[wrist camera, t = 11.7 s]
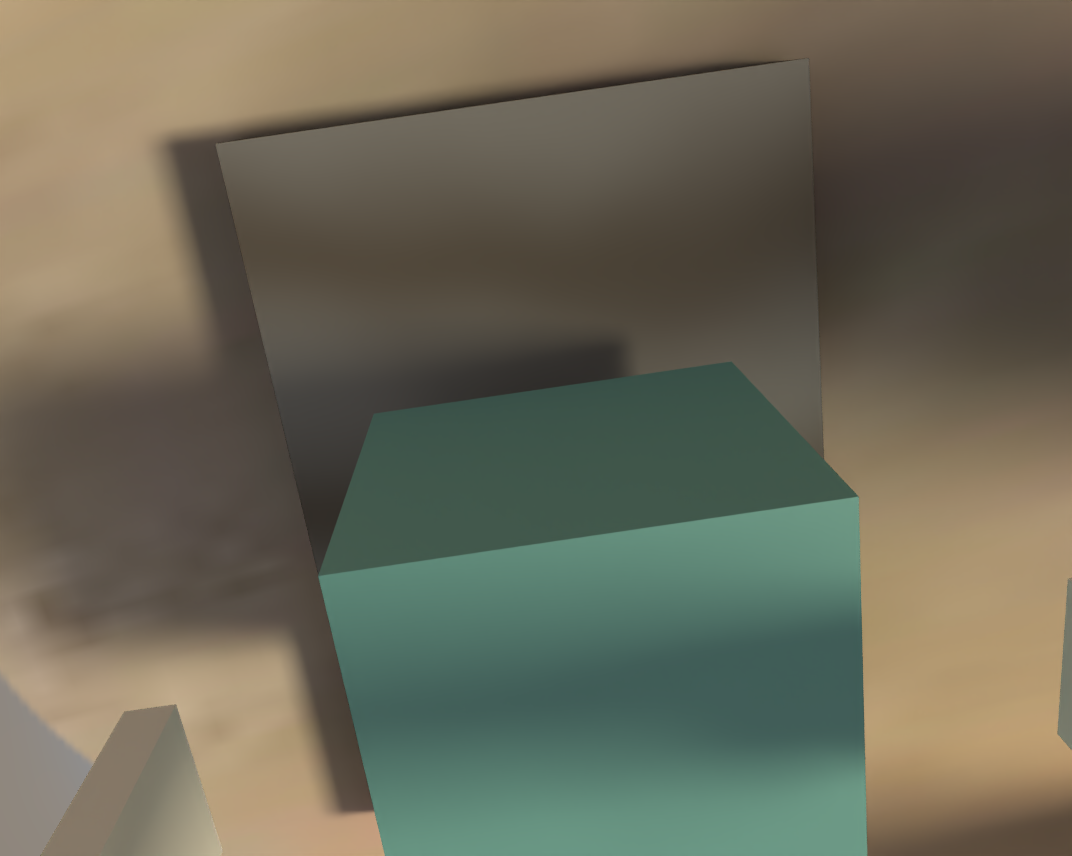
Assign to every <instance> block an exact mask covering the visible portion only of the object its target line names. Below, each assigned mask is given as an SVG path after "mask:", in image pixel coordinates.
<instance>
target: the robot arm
mask: <svg viewBox="0 0 1072 856" xmlns="http://www.w3.org/2000/svg"><path fill="white" fill-rule="evenodd" d="M1058 735H1059V736H1060V737H1061V738H1062V740H1063V741H1064V742H1065V743H1066V744H1067V745H1068V747H1069V748H1070V749H1071V750H1072V578H1069V579H1068V586H1067V600H1066V615H1065V630H1064V645H1063V660H1062V674H1061V689H1060V704H1059V719H1058ZM222 851H223V850H222V847H221V844H220V840H219V837H218V834H217V831H216V828H215V825H214V822H213V819H212V815H211V812H210V809H209V806H208V803H207V800H206V797H205V794H204V790H203V787H202V784H201V781H200V778H199V775H198V772H197V769H196V765H195V762H194V759H193V756H192V753H191V750H190V747H189V744H188V740H187V737H186V734H185V731H184V728H183V725H182V722H181V719H180V715H179V712H178V709H177V706H176V704H175V705H168V706H161V707H154V708H147V709H140V710H133V711H125V712H124V713H123V715H122V716H121V718H120V720H119V721H118V723H117V725H116V727H115V728H114V730H113V732H112V734H111V735H110V737H109V739H108V740H107V742H106V744H105V746H104V747H103V749H102V751H101V752H100V754H99V756H98V758H97V759H96V761H95V763H94V764H93V766H92V768H91V770H90V771H89V773H88V775H87V776H86V778H85V780H84V782H83V783H82V785H81V787H80V788H79V790H78V792H77V794H76V795H75V797H74V799H73V800H72V802H71V804H70V806H69V808H68V809H67V811H66V812H65V814H64V816H63V818H62V819H61V821H60V823H59V825H58V826H57V828H56V830H55V831H54V833H53V835H52V837H51V838H50V840H49V842H48V844H47V845H46V847H45V849H44V850H43V852H42V854H41V855H40V856H221V854H222Z"/></svg>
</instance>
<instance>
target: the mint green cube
mask: <svg viewBox="0 0 1072 856" xmlns="http://www.w3.org/2000/svg"><path fill="white" fill-rule="evenodd" d="M318 578H319V582H320V586H321V590H322V594H323V598H324V603H325V607H326V611H327V615H328V619H329V624H330V628H331V632H332V636H333V640H334V644H335V649H336V653H337V657H338V661H339V665H340V669H341V674H342V678H343V682H344V686H345V690H346V695H347V699H348V703H349V707H350V711H351V715H352V720H353V724H354V728H355V732H356V736H357V741H358V745H359V749H360V753H361V757H362V761H363V766H364V770H365V774H366V778H367V782H368V786H369V791H370V795H371V799H372V803H373V807H374V812H375V816H376V820H377V824H378V828H379V832H380V837H381V841H382V845H383V849H384V853H385V856H867V821H866V780H865V739H864V698H863V657H862V616H861V574H860V533H859V497H858V495H857V494H856V493H855V492H854V491H853V490H852V489H851V488H850V487H849V486H848V485H847V484H846V483H845V482H844V481H843V479H842V478H841V477H840V476H839V475H838V474H837V473H836V472H835V471H834V470H833V469H832V468H831V467H830V466H829V465H828V464H827V462H826V461H825V460H824V459H823V458H822V457H821V456H820V455H819V454H818V453H817V452H816V451H815V450H814V449H813V448H812V447H811V445H810V444H809V443H808V442H807V441H806V440H805V439H804V438H803V437H802V436H801V435H800V434H799V433H798V432H797V431H796V430H795V428H794V427H793V426H792V425H791V424H790V423H789V422H788V421H787V420H786V419H785V418H784V417H783V416H782V415H781V414H780V412H779V411H778V410H777V409H776V408H775V407H774V406H773V405H772V404H771V403H770V402H769V401H768V400H767V399H766V398H765V397H764V395H763V394H762V393H761V392H760V391H759V390H758V389H757V388H756V387H755V386H754V385H753V384H752V383H751V382H750V381H749V380H748V378H747V377H746V376H745V375H744V374H743V373H742V372H741V371H740V370H739V369H738V368H737V367H736V366H735V365H734V364H733V363H732V361H731V362H724V363H717V364H710V365H703V366H697V367H690V368H683V369H676V370H669V371H662V372H655V373H649V374H642V375H635V376H628V377H621V378H614V379H608V380H601V381H594V382H587V383H580V384H573V385H567V386H560V387H553V388H546V389H539V390H532V391H526V392H519V393H512V394H505V395H498V396H491V397H484V398H478V399H471V400H464V401H457V402H450V403H443V404H437V405H430V406H423V407H416V408H409V409H402V410H396V411H389V412H382V413H375V414H374V415H373V417H372V420H371V423H370V426H369V429H368V432H367V435H366V438H365V441H364V444H363V447H362V450H361V452H360V455H359V458H358V461H357V464H356V467H355V470H354V473H353V476H352V479H351V482H350V485H349V487H348V490H347V493H346V496H345V499H344V502H343V505H342V508H341V511H340V514H339V517H338V520H337V523H336V525H335V528H334V531H333V534H332V537H331V540H330V543H329V546H328V549H327V552H326V555H325V558H324V560H323V563H322V566H321V569H320V572H319V575H318Z"/></svg>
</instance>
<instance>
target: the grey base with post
mask: <svg viewBox="0 0 1072 856" xmlns="http://www.w3.org/2000/svg"><path fill="white" fill-rule="evenodd" d="M215 145H216V149H217V153H218V158H219V162H220V166H221V170H222V174H223V178H224V183H225V187H226V191H227V195H228V199H229V204H230V208H231V212H232V216H233V220H234V224H235V229H236V233H237V237H238V241H239V245H240V250H241V254H242V258H243V262H244V266H245V270H246V275H247V279H248V283H249V287H250V291H251V296H252V300H253V304H254V308H255V312H256V316H257V321H258V325H259V329H260V333H261V337H262V342H263V346H264V350H265V354H266V358H267V362H268V367H269V371H270V375H271V379H272V383H273V388H274V392H275V396H276V400H277V404H278V408H279V413H280V417H281V421H282V425H283V429H284V434H285V438H286V442H287V446H288V450H289V454H290V459H291V463H292V467H293V471H294V475H295V480H296V484H297V488H298V492H299V496H300V500H301V505H302V509H303V513H304V517H305V521H306V526H307V530H308V534H309V538H310V542H311V546H312V551H313V555H314V559H315V563H316V567H317V572H318V575H319V572H320V569H321V566H322V563H323V560H324V558H325V555H326V552H327V549H328V546H329V543H330V540H331V537H332V534H333V531H334V528H335V525H336V523H337V520H338V517H339V514H340V511H341V508H342V505H343V502H344V499H345V496H346V493H347V490H348V487H349V485H350V482H351V479H352V476H353V473H354V470H355V467H356V464H357V461H358V458H359V455H360V452H361V450H362V447H363V444H364V441H365V438H366V435H367V432H368V429H369V426H370V423H371V420H372V417H373V415H374V414H375V413H382V412H389V411H396V410H402V409H409V408H416V407H423V406H430V405H437V404H443V403H450V402H457V401H464V400H471V399H478V398H484V397H491V396H498V395H505V394H512V393H519V392H526V391H532V390H539V389H546V388H553V387H560V386H567V385H573V384H580V383H587V382H594V381H601V380H608V379H614V378H621V377H628V376H635V375H642V374H649V373H655V372H662V371H669V370H676V369H683V368H690V367H697V366H703V365H710V364H717V363H724V362H731V361H732V363H733V364H734V365H735V366H736V367H737V368H738V369H739V370H740V371H741V372H742V373H743V374H744V375H745V376H746V377H747V378H748V380H749V381H750V382H751V383H752V384H753V385H754V386H755V387H756V388H757V389H758V390H759V391H760V392H761V393H762V394H763V395H764V397H765V398H766V399H767V400H768V401H769V402H770V403H771V404H772V405H773V406H774V407H775V408H776V409H777V410H778V411H779V412H780V414H781V415H782V416H783V417H784V418H785V419H786V420H787V421H788V422H789V423H790V424H791V425H792V426H793V427H794V428H795V430H796V431H797V432H798V433H799V434H800V435H801V436H802V437H803V438H804V439H805V440H806V441H807V442H808V443H809V444H810V445H811V447H812V448H813V449H814V450H815V451H816V452H817V453H818V454H819V455H820V456H821V457H822V458H823V459H824V448H823V421H822V394H821V367H820V340H819V313H818V286H817V259H816V232H815V205H814V178H813V151H812V124H811V97H810V70H809V58H806V59H798V60H789V61H782V62H775V63H768V64H761V65H754V66H747V67H740V68H733V69H726V70H719V71H712V72H706V73H699V74H692V75H685V76H678V77H671V78H664V79H657V80H650V81H643V82H636V83H629V84H622V85H616V86H609V87H602V88H595V89H588V90H581V91H574V92H567V93H560V94H553V95H546V96H539V97H533V98H526V99H519V100H512V101H505V102H498V103H491V104H484V105H477V106H470V107H463V108H456V109H449V110H443V111H436V112H429V113H422V114H415V115H408V116H401V117H394V118H387V119H380V120H373V121H366V122H360V123H353V124H346V125H339V126H332V127H325V128H318V129H311V130H304V131H297V132H290V133H283V134H276V135H270V136H263V137H256V138H249V139H242V140H235V141H229V142H223V143H218V144H215Z"/></svg>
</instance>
